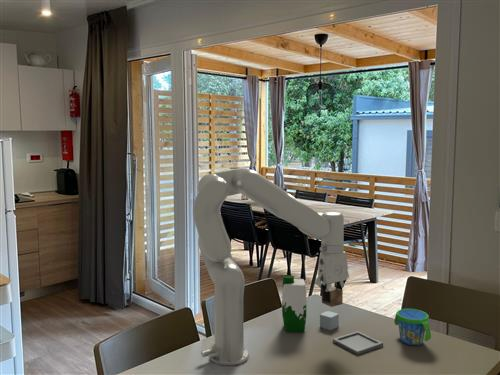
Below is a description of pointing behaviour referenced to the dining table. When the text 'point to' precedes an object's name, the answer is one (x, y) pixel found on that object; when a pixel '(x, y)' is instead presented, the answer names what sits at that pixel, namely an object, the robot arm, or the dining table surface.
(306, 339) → the dining table surface
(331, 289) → the oak cube
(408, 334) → the snack cup
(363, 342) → the tray
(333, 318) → the bluegrey block
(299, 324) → the soya milk
